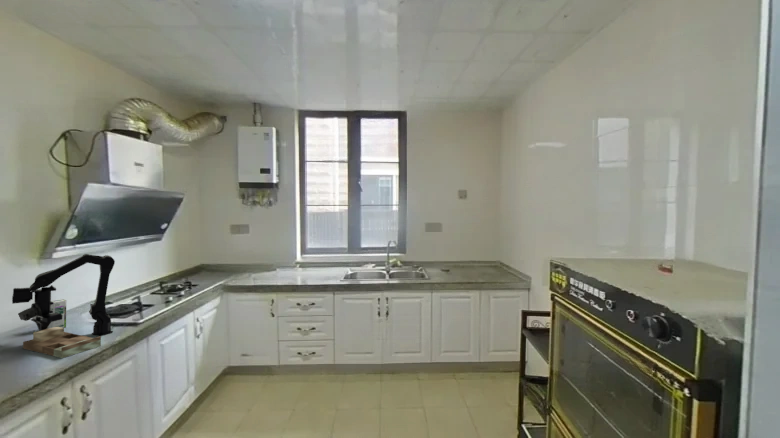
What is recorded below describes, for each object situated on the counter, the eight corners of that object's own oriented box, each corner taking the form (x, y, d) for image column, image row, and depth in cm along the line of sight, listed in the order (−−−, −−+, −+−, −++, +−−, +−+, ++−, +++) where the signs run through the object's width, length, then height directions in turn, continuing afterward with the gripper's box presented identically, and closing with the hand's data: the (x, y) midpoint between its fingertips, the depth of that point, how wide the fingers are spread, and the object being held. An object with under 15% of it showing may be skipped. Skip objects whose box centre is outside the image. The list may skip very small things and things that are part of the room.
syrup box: (53, 330, 198) (54, 302, 198) (46, 328, 200) (47, 300, 200) (66, 327, 204) (66, 299, 203) (59, 325, 206) (60, 298, 205)
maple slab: (56, 333, 185) (56, 326, 185) (63, 335, 184) (64, 328, 184) (33, 339, 176) (33, 332, 176) (40, 341, 175) (40, 333, 175)
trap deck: (62, 337, 189) (63, 328, 189) (100, 345, 181) (100, 336, 180) (23, 348, 174) (23, 338, 173) (62, 358, 165) (62, 347, 165)
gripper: (8, 302, 176) (8, 335, 177) (35, 307, 170) (34, 342, 171) (37, 297, 187) (37, 328, 187) (63, 301, 181) (62, 334, 181)
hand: (42, 333), depth 182 cm, fingers closed
